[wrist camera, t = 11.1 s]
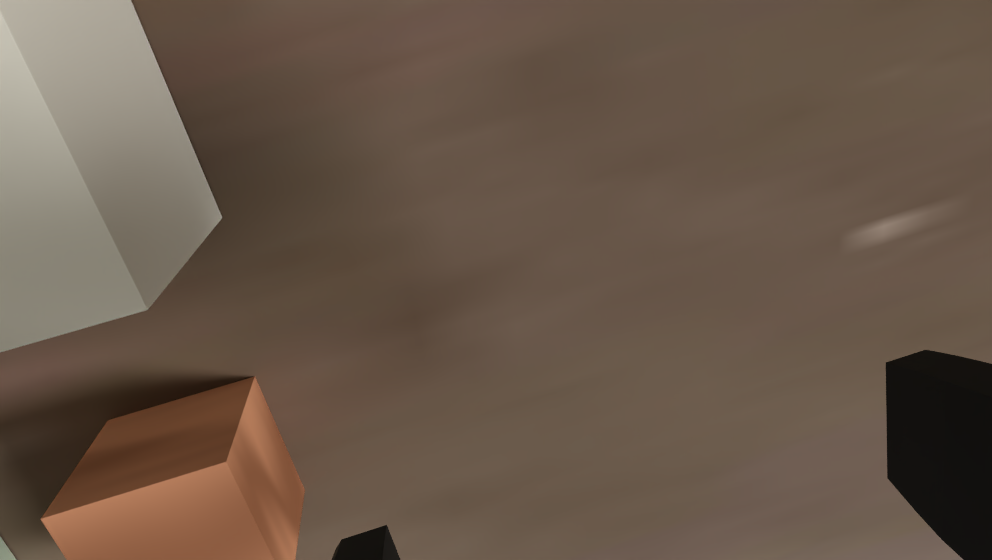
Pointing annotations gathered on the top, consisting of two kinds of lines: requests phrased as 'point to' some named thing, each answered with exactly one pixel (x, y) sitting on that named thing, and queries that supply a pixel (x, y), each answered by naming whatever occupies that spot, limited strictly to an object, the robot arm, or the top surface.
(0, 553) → the coaster
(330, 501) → the top surface
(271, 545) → the orange brown block
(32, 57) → the cover
